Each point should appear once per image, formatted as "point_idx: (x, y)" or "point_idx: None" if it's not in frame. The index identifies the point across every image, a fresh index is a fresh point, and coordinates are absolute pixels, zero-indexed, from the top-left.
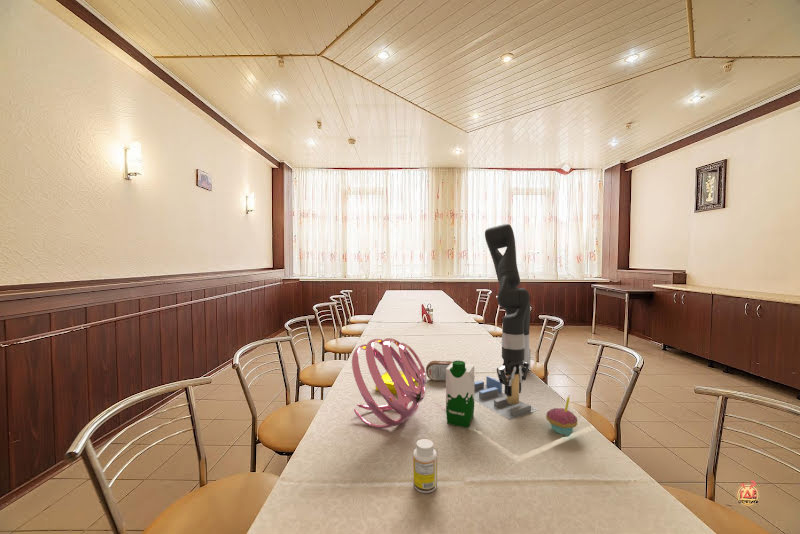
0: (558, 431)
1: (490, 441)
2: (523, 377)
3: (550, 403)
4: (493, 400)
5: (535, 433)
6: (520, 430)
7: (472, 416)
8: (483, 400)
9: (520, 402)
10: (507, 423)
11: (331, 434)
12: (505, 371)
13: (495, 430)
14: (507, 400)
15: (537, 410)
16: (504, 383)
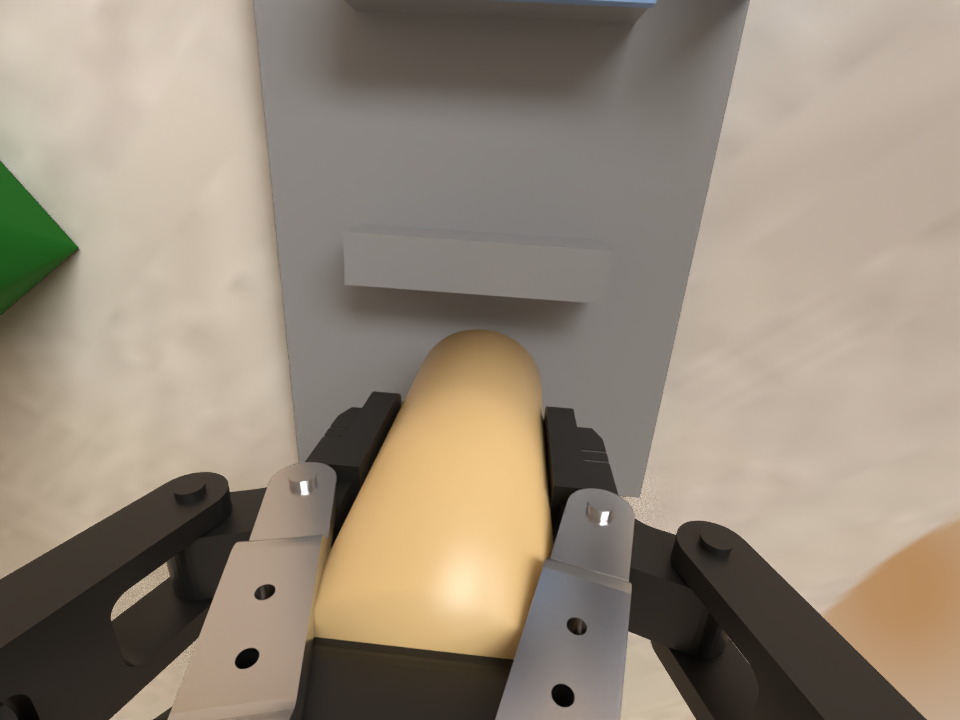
0: None
1: (51, 512)
2: (663, 660)
3: (901, 446)
4: (449, 127)
5: None
6: None
7: (9, 295)
8: (346, 52)
9: (651, 329)
10: (289, 447)
11: None
12: (207, 673)
13: (150, 457)
14: (420, 367)
15: (623, 494)
16: (167, 592)
